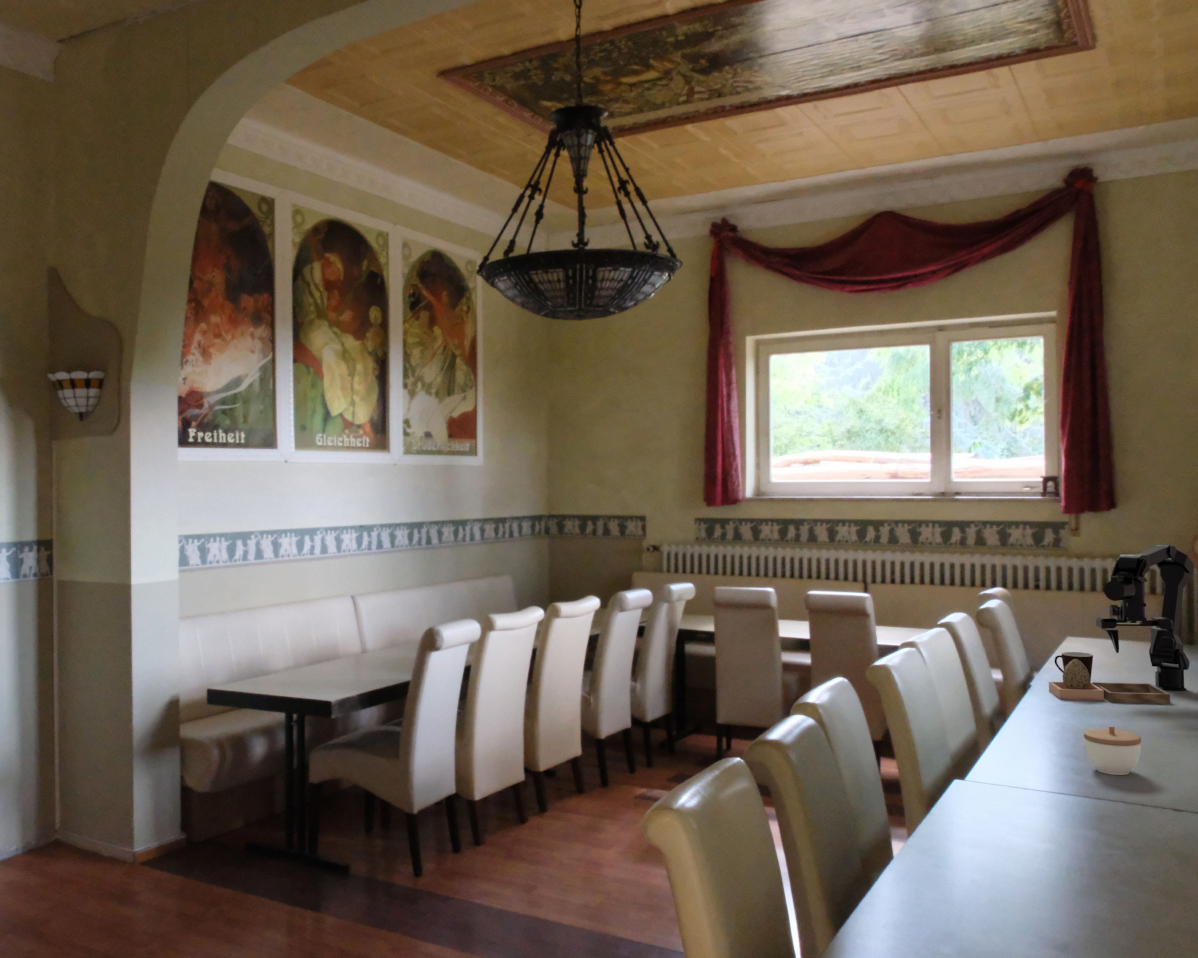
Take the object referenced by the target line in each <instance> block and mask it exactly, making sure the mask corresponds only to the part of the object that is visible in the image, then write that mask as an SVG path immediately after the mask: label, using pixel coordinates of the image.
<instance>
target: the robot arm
mask: <svg viewBox="0 0 1198 958" xmlns="http://www.w3.org/2000/svg"><path fill="white" fill-rule="evenodd" d="M1155 565H1156V567H1157V569H1159V576H1160V578H1161V579H1162V581H1163V584H1164V591H1163V599H1162V607H1161V608H1162V609H1161V615H1160V616H1151V617H1150V618H1151V619H1147V617H1146V607H1147V602H1146V598H1145V597H1146V596H1145V594H1146V593H1145V583H1146V582H1148V579H1147V577H1145V575H1146V574H1148V573H1149V572H1150V570H1151V567H1152V566H1155ZM1194 571H1195V564H1194V562H1193V561H1192V559H1191V558H1190V556H1188V555H1187V554H1185V553H1183V552H1182V551H1180V550H1179V549H1177V547H1176V546H1174V545H1172V544H1157V545H1154V546H1152V547H1149V548H1148V549H1146V550H1143V551H1141V552H1138V553H1122V554H1120V555H1119V556H1118V557H1117V559H1116V561H1115V564H1114V567H1113V570H1112V572H1111V575H1110V580H1109V581H1108V582H1106V584H1105V585H1104V588H1103V592H1104V595H1105V596H1106V598H1107V599H1109V600H1110V601H1112V602H1117V601H1118V602H1119V601H1120V606H1118V604H1110V605H1109V611H1108V612H1109V616H1098V617H1097V618H1096V619H1095V627H1098V628H1100V629H1101V630H1102V631H1105V632H1106V633H1107V634H1108V637H1109V639H1110V641H1111V644H1112V645H1113V649H1114V651H1115V653H1116V654H1119V651H1120V641H1119V640H1120V639H1119V638H1120V637H1119V630H1118V629H1117V628H1116V627H1150V628H1149V630H1150V646H1149V651H1148V655H1149V658H1150V659H1149V660H1150V663H1151V667H1155V668H1156V671H1155V672H1154V675H1155V678H1154V679H1155V685H1154V686H1156V687H1157V688H1159V689H1161V690H1163V691H1187V688H1186V687H1185V671H1188V670H1189V669H1190V663H1191V662H1190V660H1189V658H1188V657H1187V654H1186V653H1185V652H1184V651H1185V650H1184V644H1183V642H1182V640H1181V637H1180V636H1179V633H1180V632H1179V631H1180V622H1181V615H1182V614H1181V613H1182V604H1183V597H1184V588H1185V587H1186V586H1187V585H1188V584H1189V582H1190V581H1191V580H1192V577H1193V576H1192V575H1193V573H1194ZM1115 617H1116V618H1115Z"/></svg>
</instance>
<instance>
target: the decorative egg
mask: <svg viewBox="0 0 1198 958" xmlns="http://www.w3.org/2000/svg"><path fill="white" fill-rule="evenodd" d="M1063 671H1064V672H1063V673H1062V682H1063V683H1064V685H1065V687H1066V688H1067V689H1088V687H1089V684H1090V683H1091V682H1090V675H1089V672H1088V670H1087V668H1086V667H1085V666H1084V664H1083V663H1082V662H1081V661H1080V660H1078V659H1073V660H1072V661H1070V662H1069V663H1068V665H1067V666H1066V667H1065V669H1064V668H1063Z"/></svg>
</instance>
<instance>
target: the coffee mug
mask: <svg viewBox="0 0 1198 958" xmlns="http://www.w3.org/2000/svg"><path fill="white" fill-rule="evenodd" d="M1059 658H1061V660H1062V667H1060V666H1059V663H1058V659H1059ZM1093 658H1094V654H1093V653H1088V652H1082V651H1081V652H1079V651H1064V652H1061V654H1060V655H1056V656H1055V658H1054V664H1055V666H1056V668H1057V669H1058V670H1059V671H1060V672H1061V673H1062V674H1063V672H1064V669H1065V667H1066V666H1067V665H1068V663H1069V662H1070V661H1072V660H1073V659H1078V660H1080V661H1081V662H1082V663H1083V664H1084V666H1085V667H1086V668H1087V670H1088V672H1089V675H1090V683H1092V682H1091V680H1092V670H1093ZM1062 668H1063V669H1062Z"/></svg>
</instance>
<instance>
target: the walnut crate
mask: <svg viewBox="0 0 1198 958" xmlns="http://www.w3.org/2000/svg"><path fill="white" fill-rule="evenodd" d="M1091 683H1093V684H1094V685H1096V686H1097V687H1099V688H1101V689H1102V690H1104V700H1106V701H1108V702H1109V703H1140V704H1142V703H1143V704H1145V703H1146V704H1171V694H1170V693H1169V692H1167V691H1166V690H1163V689H1161V688H1159V687H1157V686H1155V685H1154V684H1152V683H1148V682H1147V683H1143V682H1139V683H1138V682H1100V681H1099V682H1097V681H1095V682H1091Z"/></svg>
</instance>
